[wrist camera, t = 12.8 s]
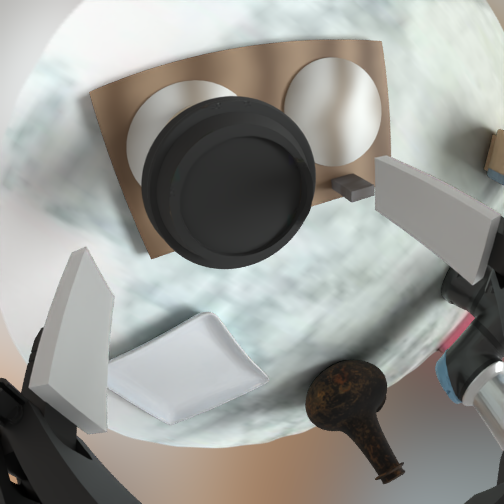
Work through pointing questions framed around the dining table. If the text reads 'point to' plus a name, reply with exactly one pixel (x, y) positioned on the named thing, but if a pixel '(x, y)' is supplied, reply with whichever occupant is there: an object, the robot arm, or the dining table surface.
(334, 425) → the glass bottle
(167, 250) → the tag board
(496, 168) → the alarm clock
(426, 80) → the dining table surface
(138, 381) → the salad plate
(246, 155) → the coffee cup
